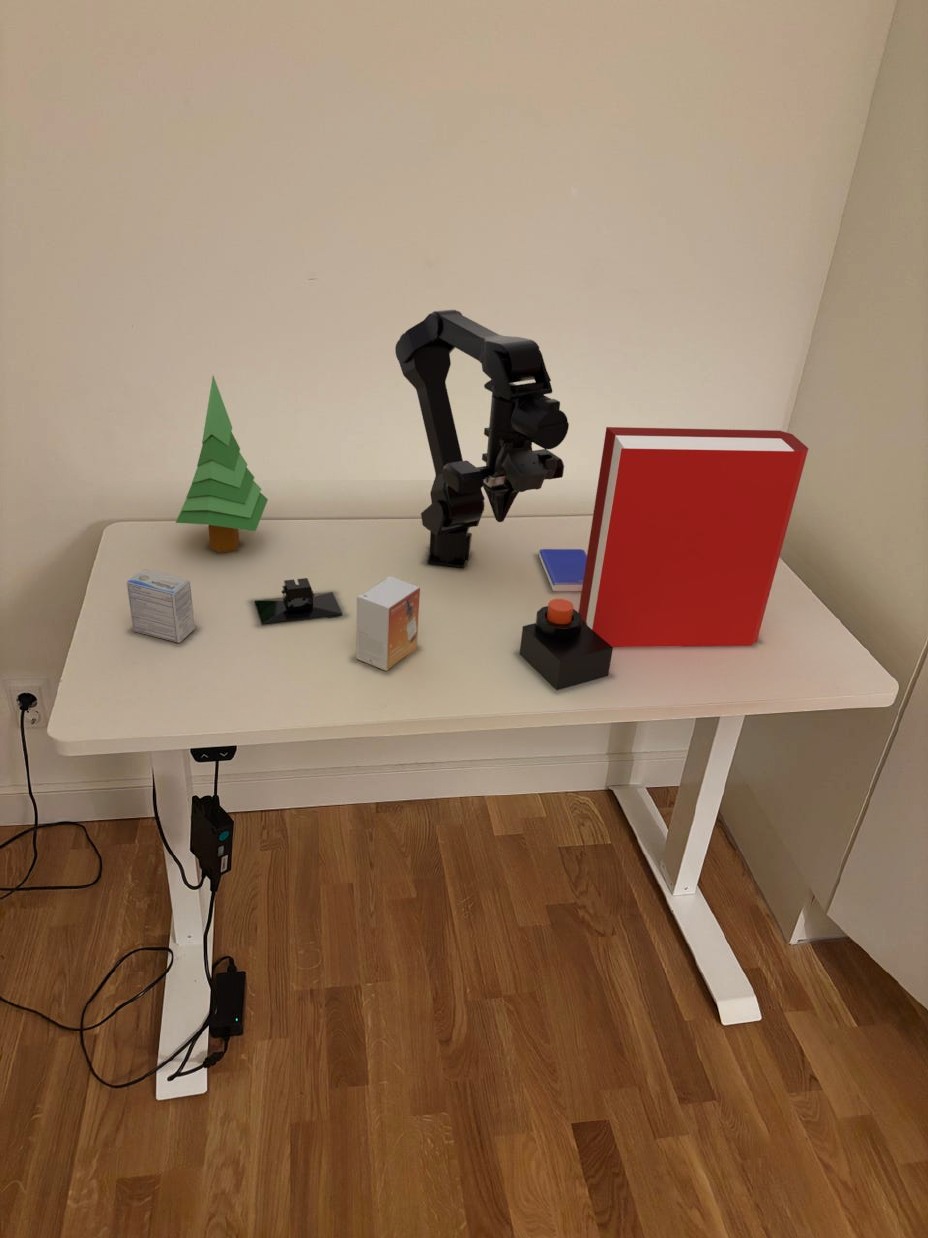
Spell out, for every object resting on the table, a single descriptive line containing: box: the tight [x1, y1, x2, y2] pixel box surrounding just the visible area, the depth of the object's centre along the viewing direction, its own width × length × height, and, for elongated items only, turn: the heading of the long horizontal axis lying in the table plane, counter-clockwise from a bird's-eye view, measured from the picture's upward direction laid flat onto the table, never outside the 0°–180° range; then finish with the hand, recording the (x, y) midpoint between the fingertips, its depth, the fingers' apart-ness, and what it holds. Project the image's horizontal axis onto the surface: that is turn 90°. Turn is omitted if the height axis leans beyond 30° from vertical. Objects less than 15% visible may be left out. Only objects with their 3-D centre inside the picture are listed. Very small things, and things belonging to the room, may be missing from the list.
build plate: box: [253, 577, 343, 626], centre depth 149 cm, size 12×7×5 cm, turn 109°
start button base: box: [519, 605, 614, 691], centre depth 140 cm, size 11×9×7 cm
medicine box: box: [126, 568, 196, 644], centre depth 140 cm, size 8×4×9 cm, turn 71°
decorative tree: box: [175, 375, 269, 554], centre depth 158 cm, size 14×16×30 cm
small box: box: [355, 575, 421, 672], centre depth 138 cm, size 8×6×10 cm
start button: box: [547, 598, 575, 624], centre depth 139 cm, size 4×4×2 cm
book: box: [577, 426, 810, 648], centre depth 143 cm, size 27×8×32 cm, turn 97°
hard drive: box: [538, 548, 587, 592], centre depth 166 cm, size 2×8×12 cm
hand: (499, 520), depth 152 cm, fingers closed
